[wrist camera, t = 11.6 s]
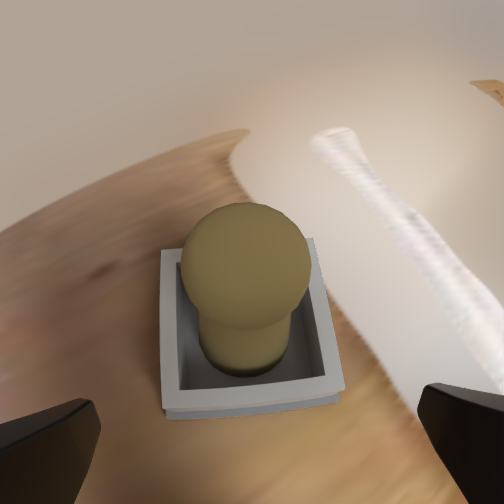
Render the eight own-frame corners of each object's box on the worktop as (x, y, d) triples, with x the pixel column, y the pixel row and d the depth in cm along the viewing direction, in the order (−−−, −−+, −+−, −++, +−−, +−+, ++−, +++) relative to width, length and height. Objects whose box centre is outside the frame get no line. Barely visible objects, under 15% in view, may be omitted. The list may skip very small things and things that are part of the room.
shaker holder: (335, 402, 19) (355, 395, 16) (169, 420, 18) (154, 417, 15) (308, 261, 25) (318, 231, 22) (165, 272, 24) (154, 244, 21)
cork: (238, 275, 23) (236, 159, 14) (307, 326, 21) (359, 233, 12) (179, 338, 21) (129, 250, 11) (251, 396, 19) (261, 361, 9)
